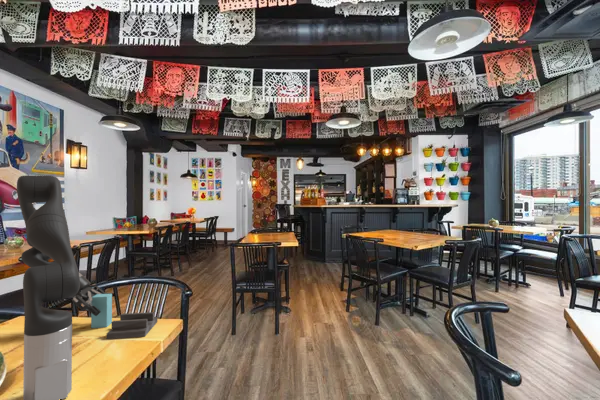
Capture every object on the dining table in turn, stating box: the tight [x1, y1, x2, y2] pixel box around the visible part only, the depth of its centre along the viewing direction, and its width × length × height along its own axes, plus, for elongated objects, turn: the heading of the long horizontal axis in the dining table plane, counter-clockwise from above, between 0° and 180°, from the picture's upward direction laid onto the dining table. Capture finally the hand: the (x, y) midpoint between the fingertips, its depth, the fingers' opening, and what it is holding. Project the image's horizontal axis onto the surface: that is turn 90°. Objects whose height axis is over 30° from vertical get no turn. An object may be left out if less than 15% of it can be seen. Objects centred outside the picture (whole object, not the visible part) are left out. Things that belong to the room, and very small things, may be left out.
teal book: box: [90, 293, 113, 329], centre depth 114 cm, size 4×6×12 cm
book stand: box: [106, 311, 158, 340], centre depth 110 cm, size 13×13×5 cm
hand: (104, 309), depth 114 cm, fingers open, 8 cm apart
